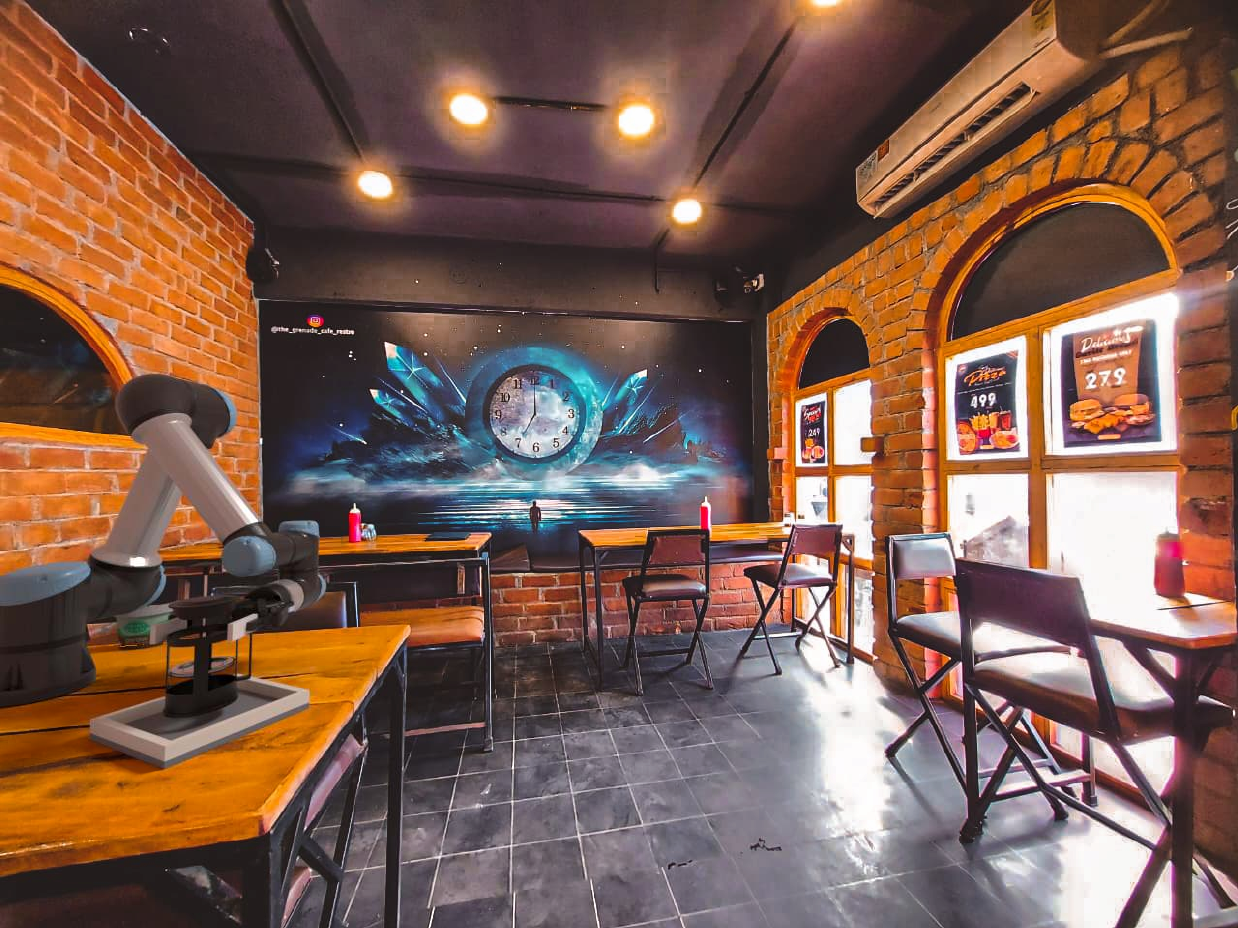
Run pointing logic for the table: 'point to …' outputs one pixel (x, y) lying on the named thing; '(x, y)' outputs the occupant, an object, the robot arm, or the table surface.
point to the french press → (202, 656)
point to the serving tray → (195, 723)
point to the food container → (141, 626)
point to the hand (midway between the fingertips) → (191, 633)
